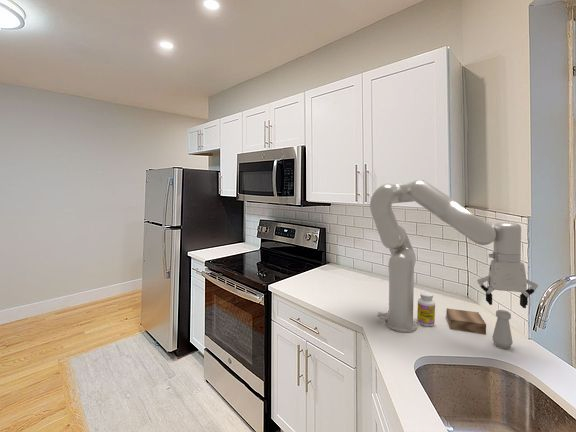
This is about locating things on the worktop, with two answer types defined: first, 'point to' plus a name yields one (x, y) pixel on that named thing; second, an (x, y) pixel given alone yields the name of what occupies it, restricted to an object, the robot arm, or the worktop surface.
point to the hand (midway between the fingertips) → (506, 305)
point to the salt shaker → (502, 330)
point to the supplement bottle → (426, 309)
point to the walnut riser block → (465, 321)
